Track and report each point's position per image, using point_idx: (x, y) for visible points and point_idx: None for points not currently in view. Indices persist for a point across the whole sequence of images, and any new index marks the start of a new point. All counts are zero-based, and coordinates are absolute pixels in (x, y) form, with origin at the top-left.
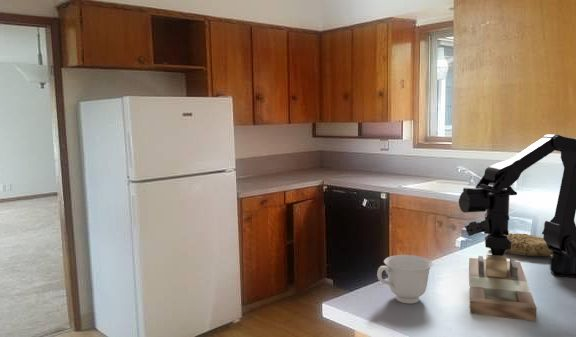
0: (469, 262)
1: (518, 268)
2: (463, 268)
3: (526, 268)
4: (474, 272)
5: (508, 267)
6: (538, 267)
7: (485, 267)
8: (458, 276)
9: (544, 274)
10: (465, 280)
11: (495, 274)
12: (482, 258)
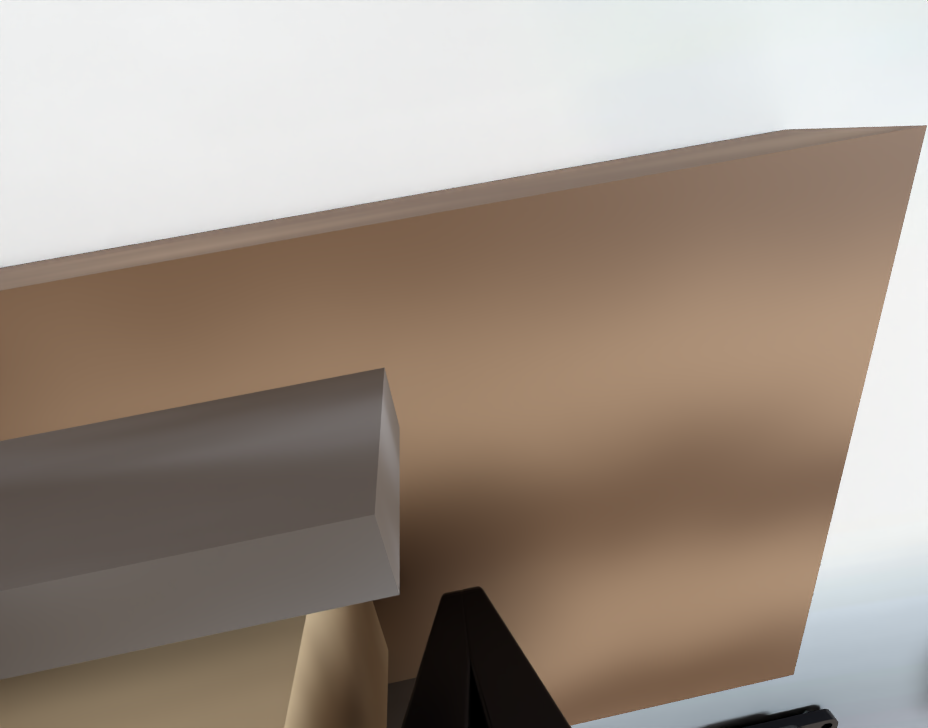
0: (628, 180)
1: (569, 704)
2: (723, 52)
3: (827, 604)
4: (75, 363)
5: (567, 642)
6: (861, 652)
7: (449, 454)
8: (304, 36)
9: (706, 698)
10: (185, 177)
11: None
12: (187, 627)
